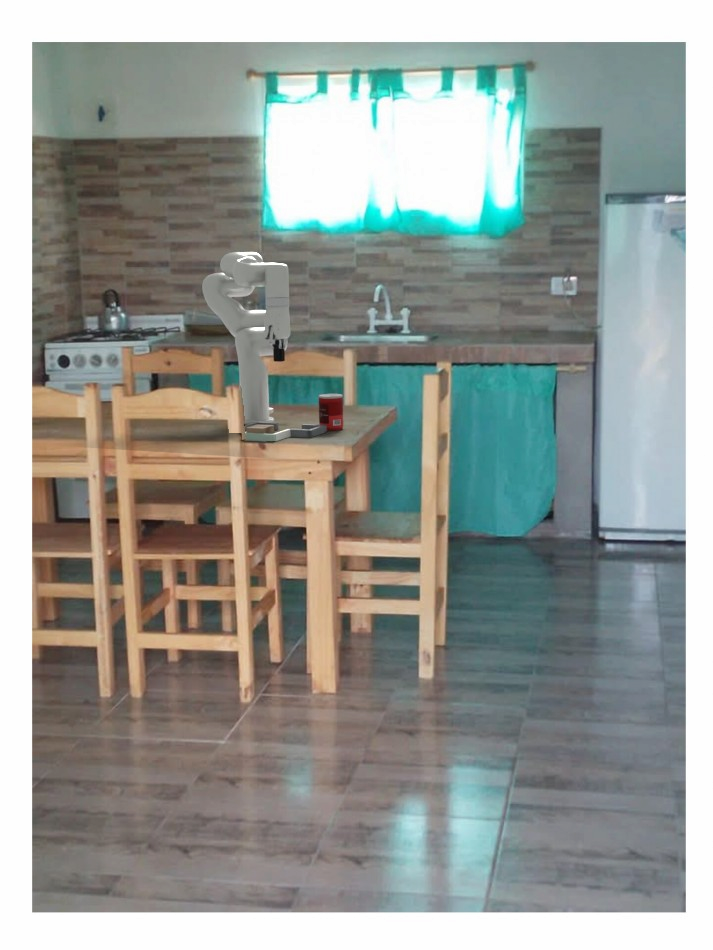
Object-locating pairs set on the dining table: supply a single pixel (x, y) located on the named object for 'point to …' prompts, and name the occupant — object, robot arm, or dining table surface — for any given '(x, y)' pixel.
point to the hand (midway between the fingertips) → (279, 361)
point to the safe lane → (268, 436)
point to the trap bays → (306, 430)
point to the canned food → (331, 411)
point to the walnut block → (261, 429)
